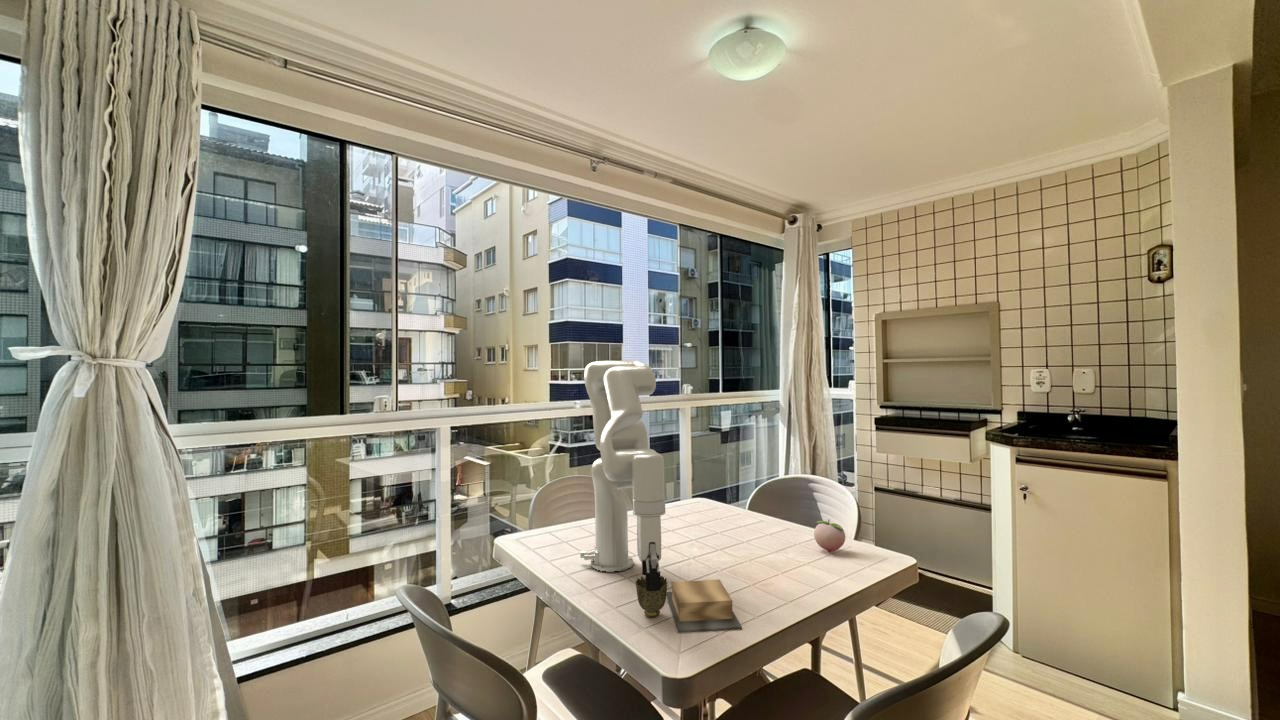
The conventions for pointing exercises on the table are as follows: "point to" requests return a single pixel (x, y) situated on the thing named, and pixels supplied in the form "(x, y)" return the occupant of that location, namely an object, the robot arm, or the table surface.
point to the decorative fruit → (829, 535)
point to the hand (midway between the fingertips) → (651, 582)
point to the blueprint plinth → (701, 606)
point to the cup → (651, 597)
